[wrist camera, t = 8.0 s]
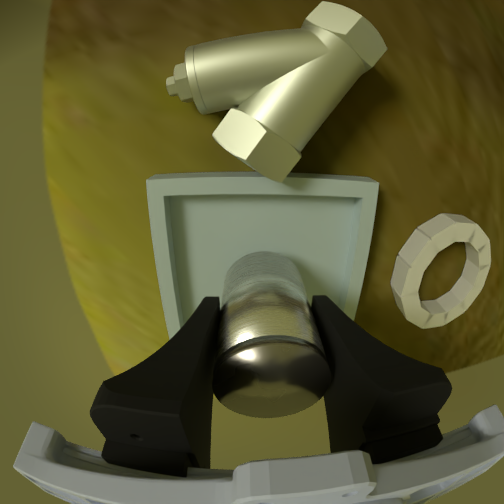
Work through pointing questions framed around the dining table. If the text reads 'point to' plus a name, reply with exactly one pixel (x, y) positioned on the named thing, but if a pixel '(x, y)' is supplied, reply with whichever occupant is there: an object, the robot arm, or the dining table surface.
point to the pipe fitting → (278, 83)
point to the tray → (258, 232)
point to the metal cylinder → (267, 340)
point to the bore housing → (420, 256)
